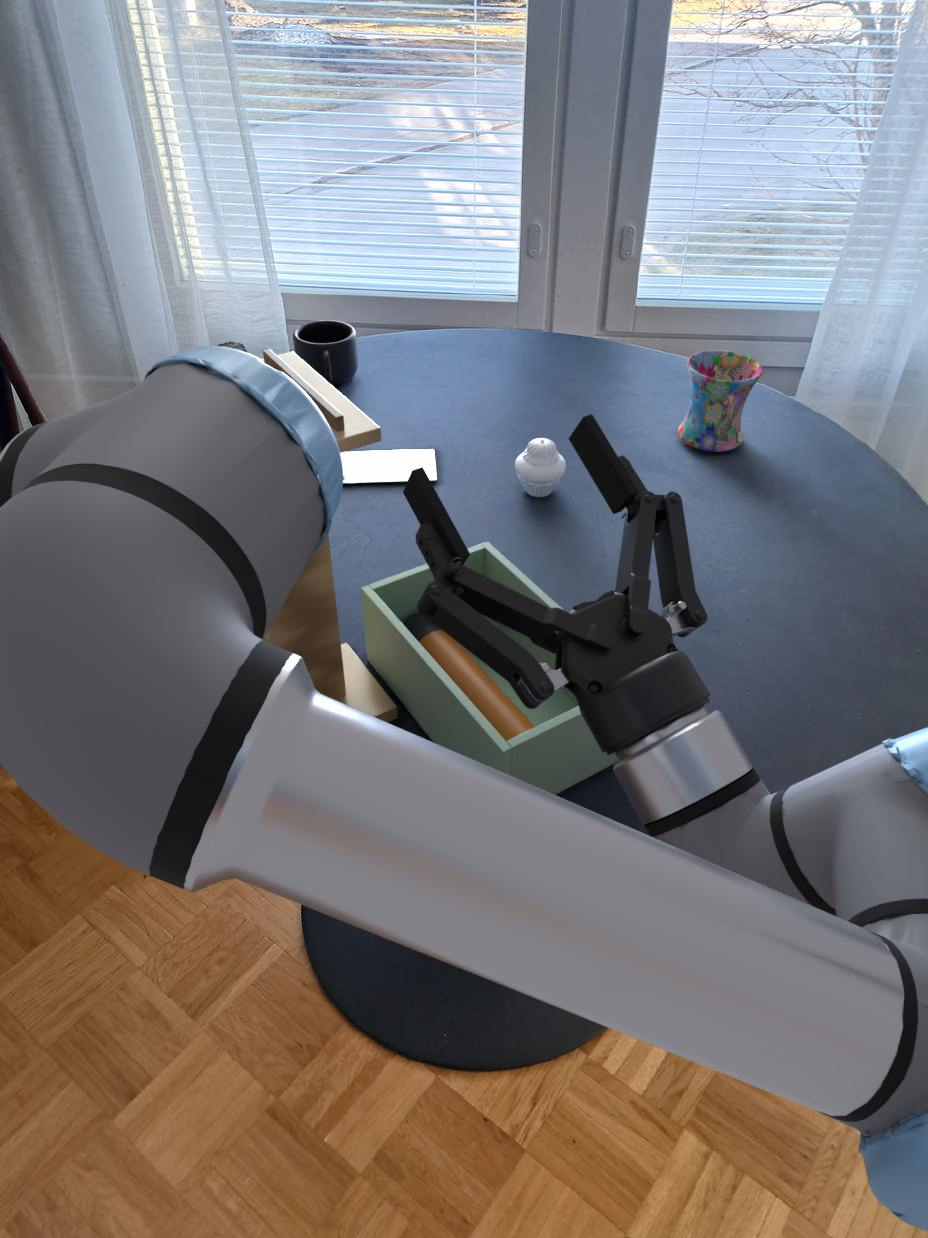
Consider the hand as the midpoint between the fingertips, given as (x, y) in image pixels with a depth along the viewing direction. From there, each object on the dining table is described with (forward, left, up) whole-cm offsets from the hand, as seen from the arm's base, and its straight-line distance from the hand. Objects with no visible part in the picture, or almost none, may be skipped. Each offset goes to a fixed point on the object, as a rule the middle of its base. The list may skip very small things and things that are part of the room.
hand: (499, 451), depth 59 cm
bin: (+2, +3, -28) cm, 28 cm away
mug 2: (+53, +27, -28) cm, 66 cm away
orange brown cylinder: (0, +3, -27) cm, 27 cm away
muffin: (+27, +30, -28) cm, 49 cm away
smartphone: (+12, +45, -28) cm, 54 cm away
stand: (-12, +11, -28) cm, 32 cm away
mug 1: (+18, +70, -28) cm, 77 cm away
